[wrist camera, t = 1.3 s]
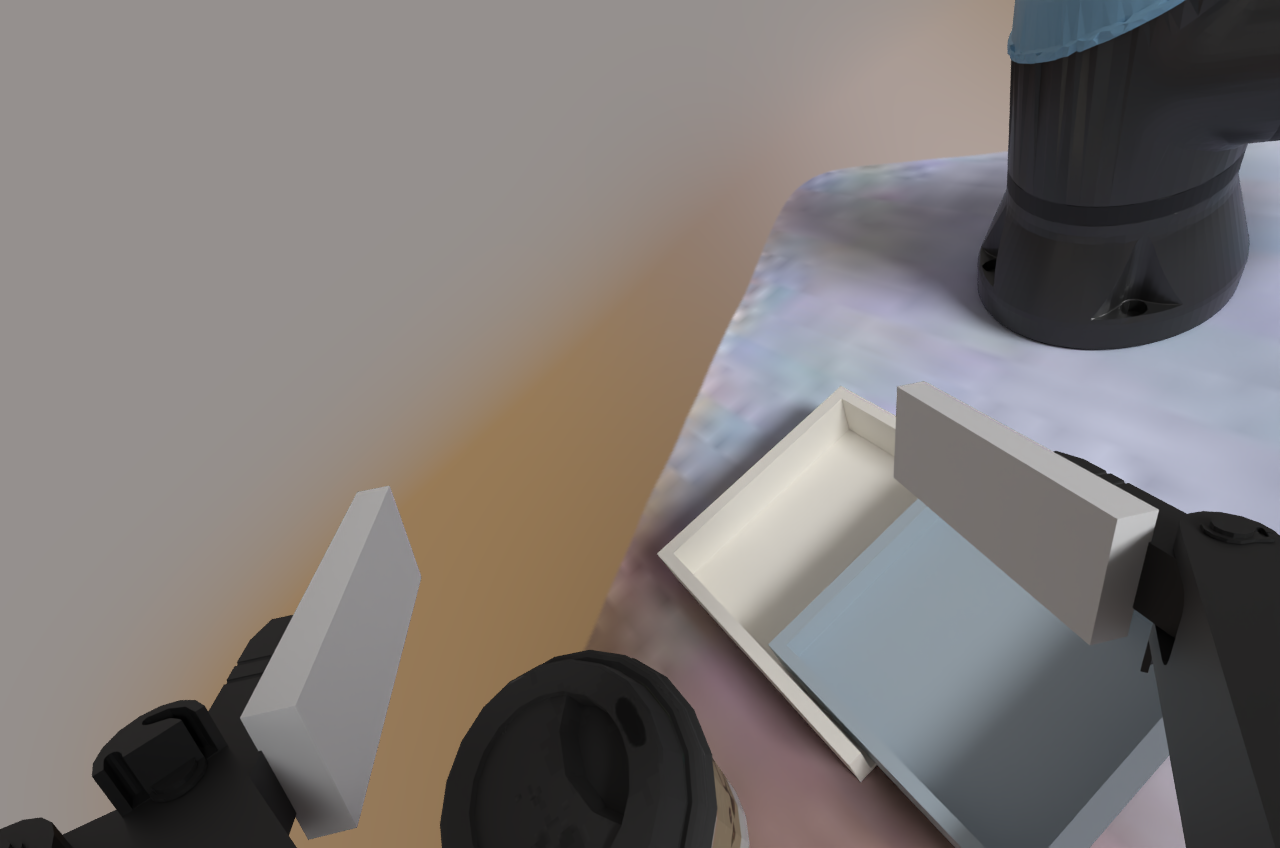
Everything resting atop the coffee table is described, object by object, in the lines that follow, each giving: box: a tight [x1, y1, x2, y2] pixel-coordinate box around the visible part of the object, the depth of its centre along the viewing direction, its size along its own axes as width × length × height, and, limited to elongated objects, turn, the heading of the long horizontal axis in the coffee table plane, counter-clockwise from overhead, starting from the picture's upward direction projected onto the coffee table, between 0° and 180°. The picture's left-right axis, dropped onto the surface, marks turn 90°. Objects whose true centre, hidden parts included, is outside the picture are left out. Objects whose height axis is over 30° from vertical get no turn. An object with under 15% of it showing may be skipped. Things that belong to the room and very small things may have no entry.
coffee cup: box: [440, 650, 749, 848], centre depth 28 cm, size 11×11×15 cm
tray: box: [768, 499, 1169, 848], centre depth 30 cm, size 15×14×6 cm
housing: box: [657, 386, 918, 782], centre depth 37 cm, size 17×16×4 cm
